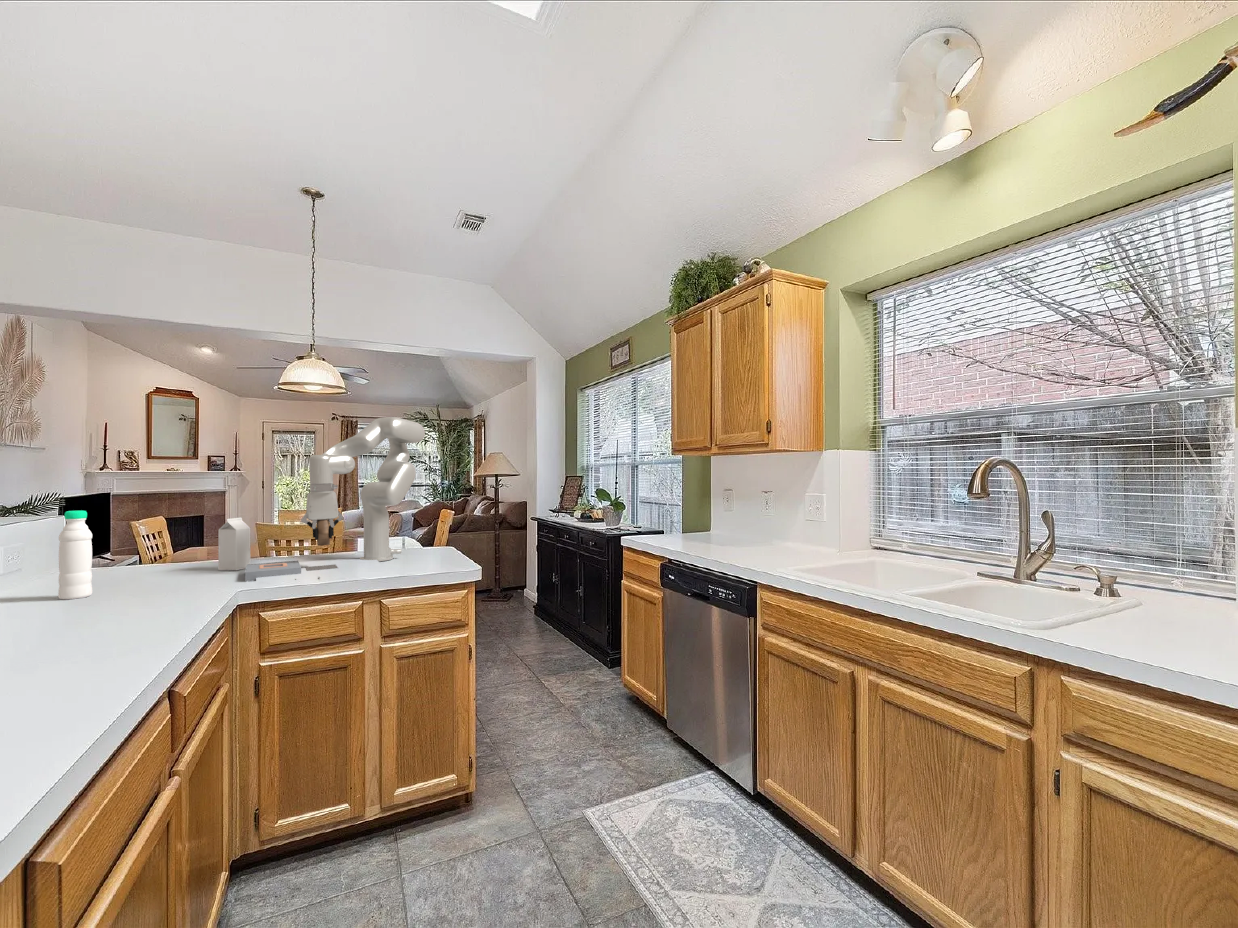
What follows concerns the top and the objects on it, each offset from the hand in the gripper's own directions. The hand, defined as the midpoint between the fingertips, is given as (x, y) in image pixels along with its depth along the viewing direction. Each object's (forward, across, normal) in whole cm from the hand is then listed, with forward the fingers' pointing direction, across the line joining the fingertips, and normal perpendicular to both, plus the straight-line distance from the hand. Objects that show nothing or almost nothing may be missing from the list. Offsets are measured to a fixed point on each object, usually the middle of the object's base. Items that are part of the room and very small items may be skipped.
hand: (323, 538), depth 208 cm
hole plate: (+11, +16, +1) cm, 19 cm away
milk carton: (+11, +28, -22) cm, 38 cm away
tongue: (+11, +1, +1) cm, 12 cm away
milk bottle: (+10, +65, +11) cm, 67 cm away
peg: (+2, 0, 0) cm, 2 cm away
